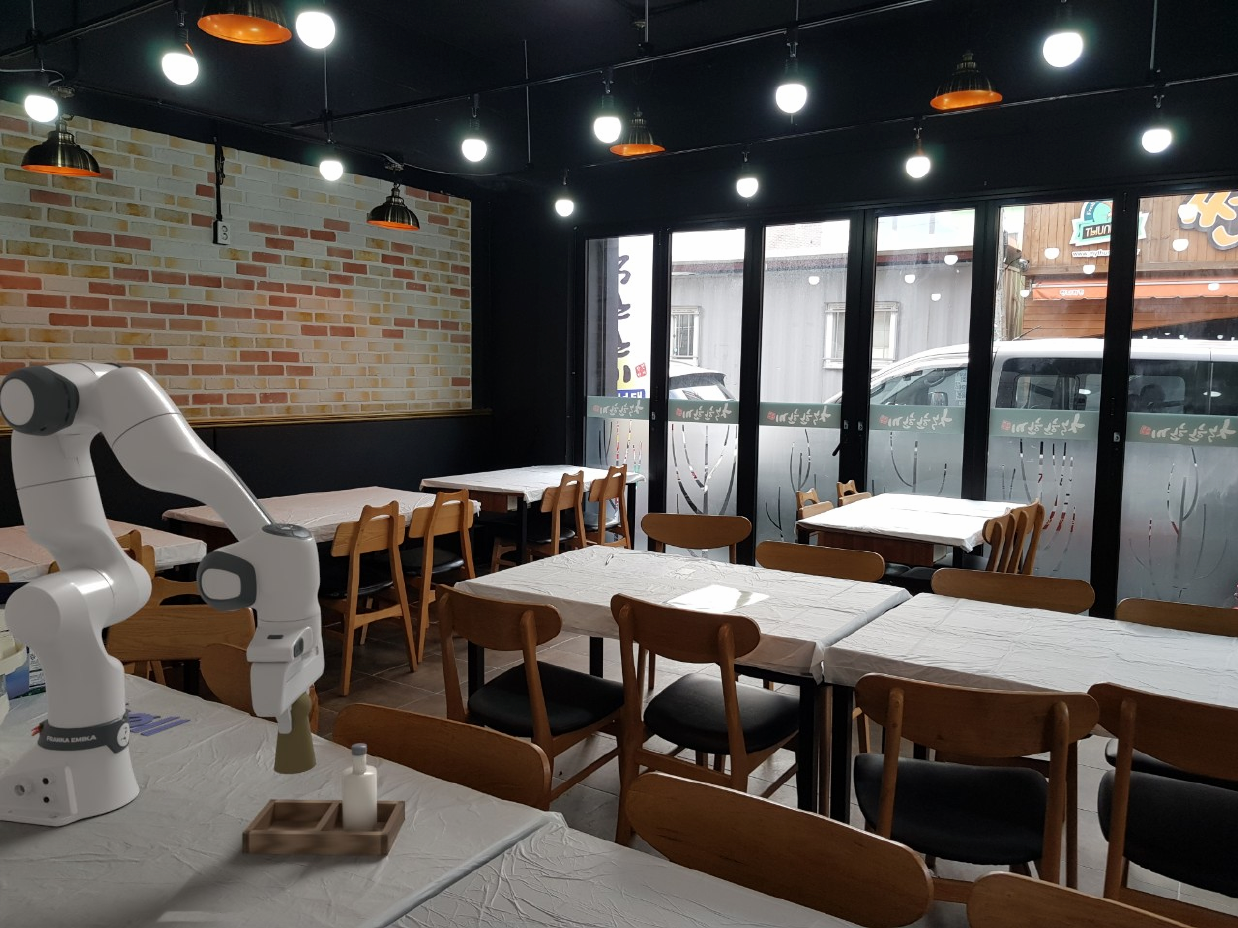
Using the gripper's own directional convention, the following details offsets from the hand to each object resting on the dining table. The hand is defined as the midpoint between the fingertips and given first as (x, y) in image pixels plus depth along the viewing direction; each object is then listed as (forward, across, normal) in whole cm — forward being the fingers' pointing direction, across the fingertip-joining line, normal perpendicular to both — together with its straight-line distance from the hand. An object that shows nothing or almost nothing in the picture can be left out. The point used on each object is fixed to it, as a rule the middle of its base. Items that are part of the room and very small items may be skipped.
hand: (292, 724), depth 137 cm
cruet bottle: (+17, 0, +10) cm, 20 cm away
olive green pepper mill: (+6, 0, 0) cm, 7 cm away
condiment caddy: (+18, 0, +5) cm, 19 cm away
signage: (+18, -51, -53) cm, 76 cm away
